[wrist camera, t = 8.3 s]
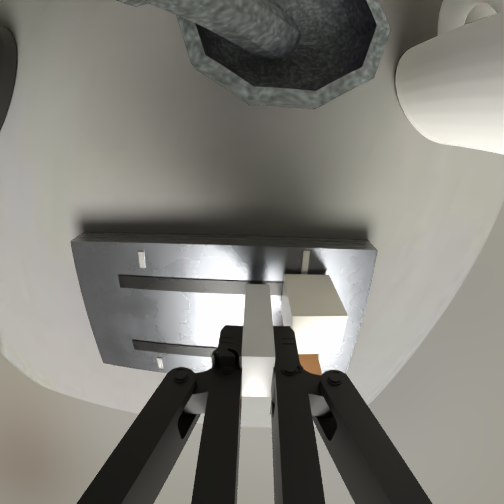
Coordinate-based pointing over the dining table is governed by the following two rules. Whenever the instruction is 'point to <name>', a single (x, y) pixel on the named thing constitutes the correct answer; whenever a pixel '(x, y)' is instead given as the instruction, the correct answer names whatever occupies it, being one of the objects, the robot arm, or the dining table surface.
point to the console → (204, 290)
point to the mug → (457, 79)
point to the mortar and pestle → (282, 46)
